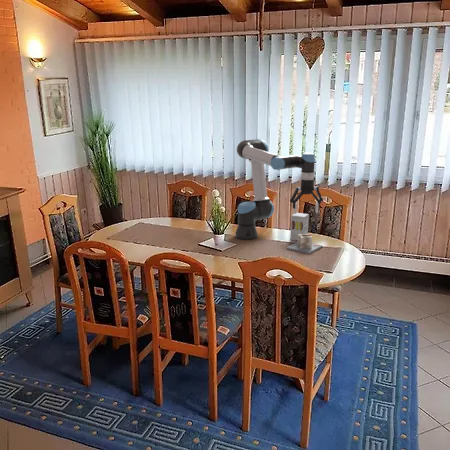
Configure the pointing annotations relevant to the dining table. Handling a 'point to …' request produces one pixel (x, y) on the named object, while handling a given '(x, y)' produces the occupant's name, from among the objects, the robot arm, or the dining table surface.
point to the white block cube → (304, 240)
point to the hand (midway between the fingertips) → (305, 213)
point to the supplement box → (298, 225)
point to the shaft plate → (304, 250)
